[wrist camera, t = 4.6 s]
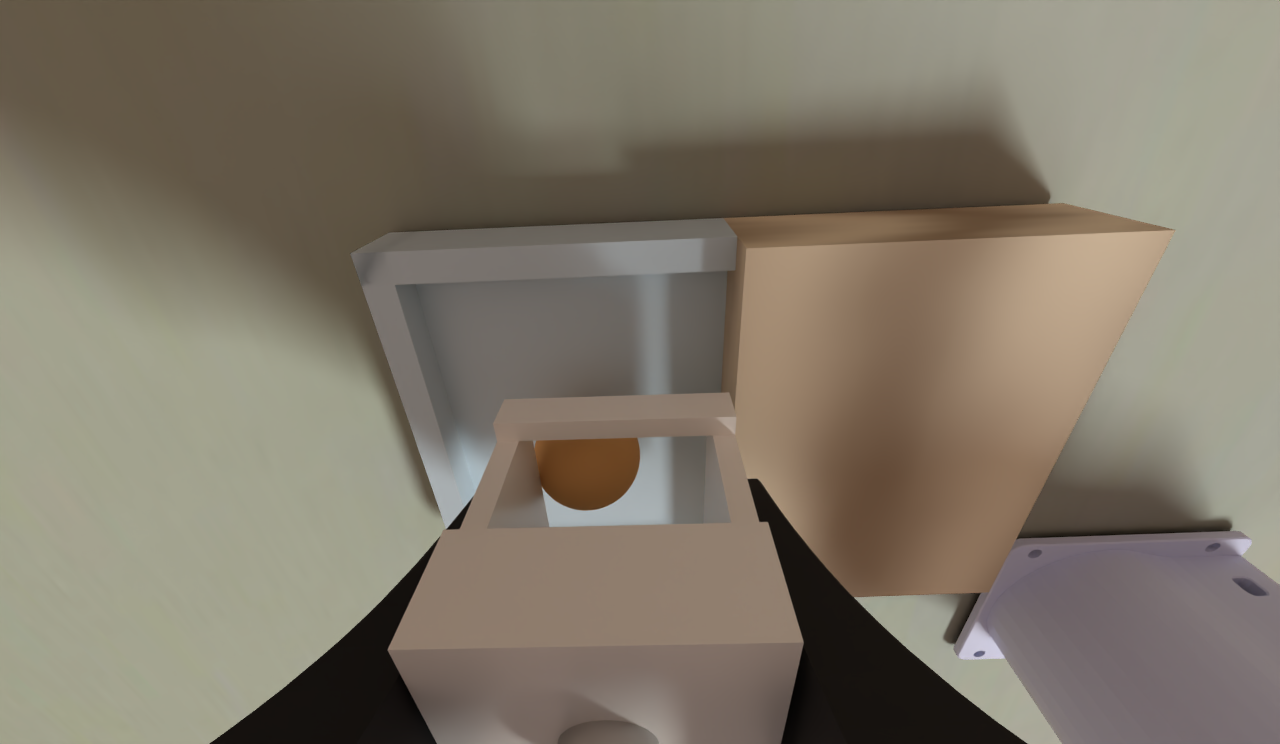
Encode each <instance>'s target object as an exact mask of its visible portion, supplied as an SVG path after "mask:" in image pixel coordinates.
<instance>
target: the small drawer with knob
mask: <svg viewBox="0 0 1280 744" xmlns="http://www.w3.org/2000/svg"><path fill="white" fill-rule="evenodd" d="M493 426H494V431H495V435H496V439H497V443H496V446H495V448H494V450H493V453H492V455H491V457H490V460H489V462H488V464H487V467H486V469H485V471H484V474H483V476H482V478H481V481H480V483H479V485H478V488H477V490H476V492H475V494H474V497H473V499H472V501H471V504H470V506H469V508H468V511H467V513H466V515H465V518H464V520H463V522H462V525H461V527H460V529H454V530H443V532H442V534H441V536H440V538H439V541H438V543H437V545H436V547H435V549H434V551H433V553H432V556H431V558H430V560H429V562H428V564H427V566H426V568H425V571H424V573H423V575H422V577H421V579H420V581H419V583H418V586H417V588H416V590H415V592H414V594H413V596H412V598H411V601H410V603H409V605H408V607H407V609H406V611H405V613H404V616H403V618H402V620H401V622H400V624H399V626H398V629H397V631H396V633H395V635H394V637H393V639H392V641H391V644H390V646H389V648H388V652H389V654H390V656H391V658H392V659H393V661H394V663H395V665H396V667H397V669H398V671H399V673H400V675H401V677H402V678H403V680H404V682H405V684H406V686H407V688H408V690H409V692H410V694H411V695H412V697H413V699H414V701H415V703H416V705H417V707H418V709H419V711H420V712H421V714H422V716H423V718H424V720H425V722H426V724H427V726H428V728H429V730H430V731H431V733H432V735H433V737H434V739H435V741H436V743H437V744H781V741H782V737H783V732H784V728H785V724H786V719H787V715H788V710H789V706H790V701H791V697H792V693H793V688H794V684H795V679H796V675H797V670H798V666H799V662H800V657H801V653H802V648H803V644H804V642H803V638H802V635H801V631H800V628H799V625H798V621H797V618H796V615H795V611H794V608H793V605H792V601H791V598H790V595H789V591H788V588H787V584H786V581H785V578H784V574H783V571H782V568H781V564H780V561H779V558H778V554H777V551H776V548H775V544H774V541H773V537H772V534H771V531H770V527H769V524H768V522H759V519H758V515H757V512H756V508H755V505H754V501H753V497H752V494H751V490H750V487H749V483H748V479H747V476H746V472H745V469H744V465H743V461H742V458H741V454H740V451H739V447H738V443H737V440H736V436H735V430H736V413H735V410H734V407H733V403H732V400H731V396H730V393H729V392H725V393H693V394H661V395H628V396H596V397H563V398H531V399H504V401H503V403H502V405H501V408H500V410H499V412H498V414H497V416H496V418H495V420H494V423H493ZM679 436H707V439H706V466H705V492H704V519H703V524H661V525H620V526H578V527H549V522H548V517H547V512H546V506H545V501H544V496H543V491H542V485H541V480H540V475H539V470H538V464H537V459H536V454H535V449H534V443H533V441H539V440H574V439H609V438H644V437H679Z"/></svg>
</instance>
